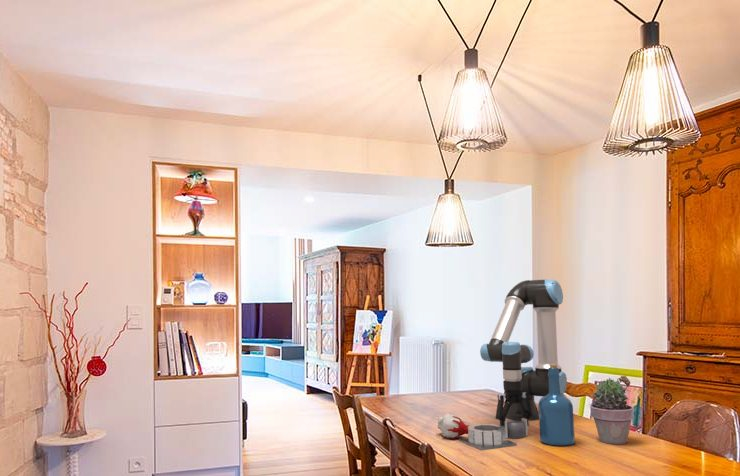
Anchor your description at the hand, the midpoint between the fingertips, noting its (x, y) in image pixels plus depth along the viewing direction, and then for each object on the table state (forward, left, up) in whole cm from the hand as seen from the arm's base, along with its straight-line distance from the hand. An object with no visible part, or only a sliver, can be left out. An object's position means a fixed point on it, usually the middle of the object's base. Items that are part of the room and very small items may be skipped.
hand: (515, 436), depth 232 cm
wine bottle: (-9, +15, 0) cm, 17 cm away
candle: (+23, -10, -1) cm, 25 cm away
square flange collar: (+16, +4, 0) cm, 16 cm away
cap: (0, 0, 0) cm, 0 cm away
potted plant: (-28, +23, 0) cm, 37 cm away
